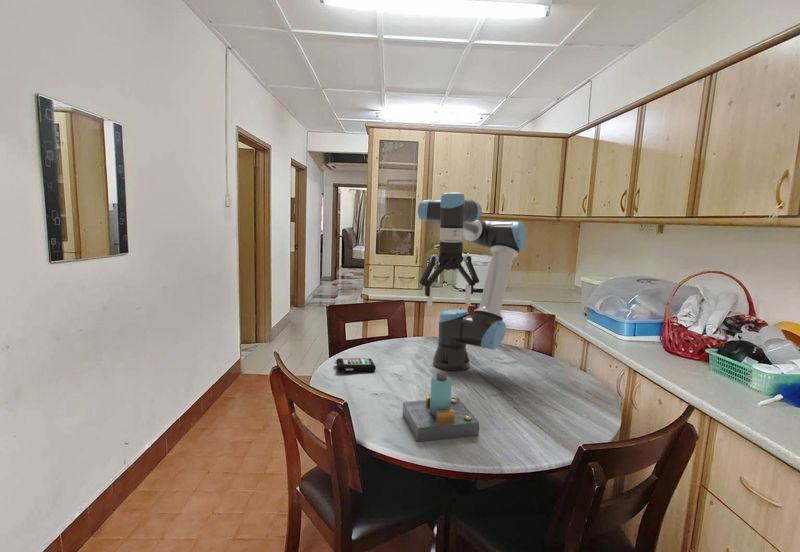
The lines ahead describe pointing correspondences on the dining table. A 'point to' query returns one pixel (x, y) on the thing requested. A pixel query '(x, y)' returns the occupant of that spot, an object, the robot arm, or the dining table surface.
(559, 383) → the dining table surface
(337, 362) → the phone
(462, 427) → the fixture block
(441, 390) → the pump
